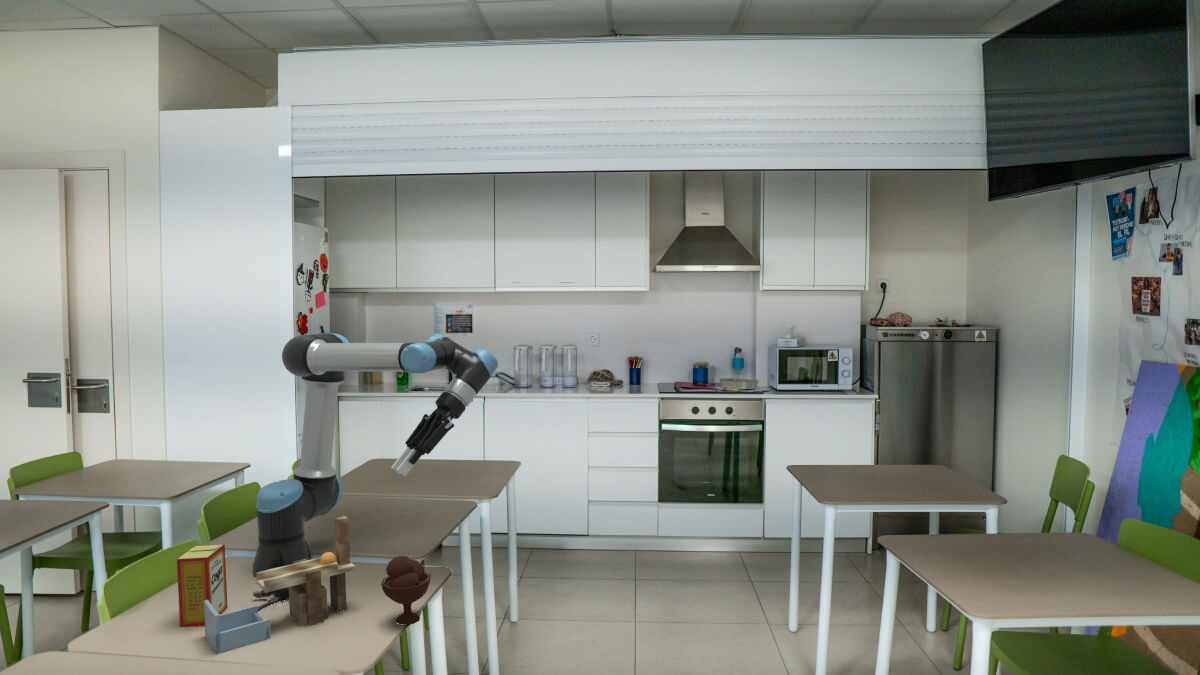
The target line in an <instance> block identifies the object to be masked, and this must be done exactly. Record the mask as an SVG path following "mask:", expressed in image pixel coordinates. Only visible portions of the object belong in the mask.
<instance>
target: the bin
mask: <svg viewBox="0 0 1200 675" xmlns="http://www.w3.org/2000/svg"><path fill="white" fill-rule="evenodd" d="M257 607H258V605H257V604H254V605H251V606H248V607H244V608H243V607H242V608H240V609H235V610H232V611H229V612H225V613H224V612H223V613H222V614H220V615H219V614H218V613H217V611H216V610H215V609H214V607H213V606H212V605H211V603H210V602H209V601H208V600H205V601H204V617H205V626H204V633H205V636H206V637H205V638H206V640H207V639H208V640H207V641H208V643H209V644H210V645H211V647H212V649H213V650H214V652H215V654H221V653H223V652H224V653H225V652H228V651H230V650H234V649H237V648H240V647H244V646H247V645H250V644H254V643H258V642H261V641H265V640H267V639H271V619H270V618H267V619H266V618H265V619H263V618H262V617H261V616H260V615H259V611H257Z"/></svg>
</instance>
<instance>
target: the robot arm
mask: <svg viewBox="0 0 1200 675" xmlns="http://www.w3.org/2000/svg"><path fill="white" fill-rule="evenodd" d="M281 361H282V364H283V366H284V367H285V369H286V370H287V371H288V373H290V374H292V375H294V376H297V377H301V380H302V381H303V383H305V385H306V386H305V387H306V389H305V400H304V412H303V413H304V415H303V423H302V424H303V426H302V437H301V438H302V439H301V449H300V463H299V466H298V467H296V468H294V470H293V476H292V477H293V478H292V479H289V478H288V479H282V480H278V481H273V482H270V483H268V484H266V485H264V486H263V487H261V488H260V489H259V490H258V492H257V494H256V503H255V505H256V506H255V508H256V515H257V516H256V518H257V533H258V534H257V535H258V536H257V538H258V545H257V549H256V553H255V555H254V560H253V563H252V574H254V576H255V577H256V573H257V572H261V571H265V570H269V569H274V568H278V567H282V566H286V565H290V564H293V562H295V561H299V560H303V559H307V560H311V559H313V554H312V553H311V552H312V551H311V550H310V548H309V546H308V542H307V541H306V537H305V523H307V522H308V521H311V520H313V519H315V518H317V517H320V516H323V515H326V514H328V513H329V512H330V511H332V510H333V509H335V508H337V506H338V504H339V503H340V502H341V499H342V496H343V485H342V482H341V481H340V478H339V477H338V476H337V470H336V469H335V467H333V466H332V464H333V463H332V462H333V451H334V441H335V440H334V439H335V426H336V425H335V424H336V416H337V415H336V414H337V403H338V395H339V394H338V391H339V386H341V385H342V384H343V383H344V382H345V377H346V376H345V374H346V372H398V373H399V372H402V373H403V372H405V373H406V372H407V373H410V374H425V373H428V372H433V371H437V370H441V369H443V370H444V369H445V370H446V371H448V372H450V373H451V374H453V375H455V377H454V378H452V380H451V381H450V382H449V383H448V384H447V386H446V387H445V389H444V391H443V392H442V393H441V394H440V395H439V396H438V397H437V399H436V400H435V405H436V408H435V409H434V411H432V412H431V414H429V415H428V414H427V413H424V414H423V416H422V418H421V421H420V422H419V423H418V424H417V426H416V427H415V429H414V430H413V431H412V433H411V434H410V435H409V437H408V438H407V440H406V441H405V445H406V448H405V449H404V451H403V452H402V453H401V454H400V456H399V457H398V458H397V460H396V461H395V462H394V463H393V465H392V466H391V467H390V468H391V469H392V470H393V471H394V472H395V473H396V474H398V475H402V476H403V477H406V476H408V474H409V473H410V471H411V470H412V469H413V468H414V467H415V465H416V464H417V462H418V461H419V460H420V458H421V457H422V456H424V455H429V454H430V453H432V451H433V450H434V449H435V447H436V446H438V444H439V443H440V442H441V441H442V440H443V438H444V437H445V436H446V435H447V433H448V432H449V431H451V430H452V429H453V428H454V427H455V424H454V423H453V422H452V421H453V419H454V420H459V419H460V417H461V416H462V415H463V413H465V411H466V407H469V405H470V404H471V403H473V401H474V399H475V397H476V396H477V395H478V394H479V392H480V391H481V390H482V389H483V388H484V386H485V385H486V384H487V383H488V381H489V380H490V379H491V378H492V376H493V375H494V373H495V372H496V370H497V369H498V367H499V361H498V359H497V358H496V356H495V355H494V354H493V353H491V352H490V351H489V350H487V349H484V348H480V347H479V348H477V349H475V351H474V352H473V351H470V350H469V349H467V348H465V347H464V346H462V345H461V344H458V343H457V342H455V341H454V340H453V339H451V338H450V337H448V336H445V335H444V334H441V333H434V334H433V335H432V336H430V337H429V338H428V339H427V341H426V342H350V341H349V340H348V339H347V337H345V336H343V335H341V334H339V333H332V332H331V333H330V332H323V333H313V334H302V335H301V334H299V335H297V336H294V337H292V338H291V339H290V340H288V342H286V344H284V347H283V349H282V352H281Z"/></svg>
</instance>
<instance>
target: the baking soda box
mask: <svg viewBox="0 0 1200 675" xmlns="http://www.w3.org/2000/svg"><path fill="white" fill-rule="evenodd" d="M225 546H226V545H225V543H223V544H222V543H219V544H218V543H217V544H216V543H215V544H199V545H198V544H197V545H195V546H194V547H193V546H192V548H190V549H189V550H188V551H186V552H185V553H184V554H182V555H180V557H178V558H177V559H176V568H177V569H176V570H177V572H176V573H177V589H178V590H177V593H178V613H179V627H180V628H187V627H205V626H204V625H205V617H204V601H205V600H208V601H209V602H210V603H211V605H212V606H213V607H214V609H215V610H216V611H217V613H218V614H219V615H220V614H224V612H225V611H227V609H228V590H227V589H228V588H227V587H228V586H227V571H226V570H227V568H226V566H227V565H226V564H227V563H226V548H225Z"/></svg>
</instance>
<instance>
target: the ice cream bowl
mask: <svg viewBox="0 0 1200 675" xmlns="http://www.w3.org/2000/svg"><path fill="white" fill-rule="evenodd" d="M385 571H386V574H387V576H385V577H384V578H383V579H382V581H381V583H380V585H381V588H382V591H383V593H384V595H385V596H386V597H388V598H389V599H390V600H391V601H392V602H394V603H397V604H399V605H402V606H403V612H402V613H400V614H399V615H398V616H396V619H395V622H397V623H399V624H404V625H403V626H409V625H415V624H416V623H418V622H419V621H420V620H421V616H420V614H418V613H416V612H413V610H412V605H413V603H414V602H416V601H419V600H420V599H421V598H423V596H424V595H425V594H426V593H427V591H428V588H429V586H430V583H431V577H432V574H430V573H428V572H426V571H425V566H424V565H423V564H422V563H421V562H419V561H418V560H416V559H413V558H410V557H409V556H406V555H398V556H396V557H393V558H392V559H391V560H390V561H389V562H388V563H387V566H386V568H385ZM397 623H396V624H397ZM405 624H406V625H405Z"/></svg>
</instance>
